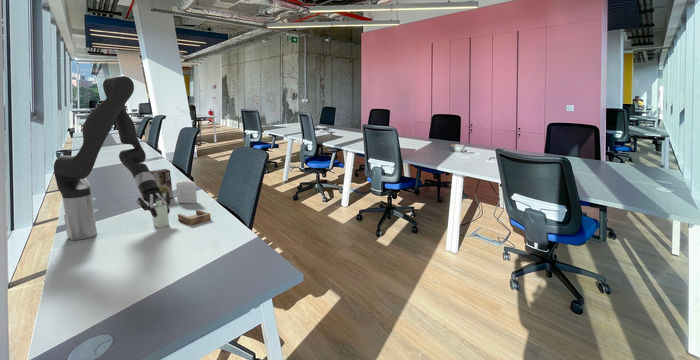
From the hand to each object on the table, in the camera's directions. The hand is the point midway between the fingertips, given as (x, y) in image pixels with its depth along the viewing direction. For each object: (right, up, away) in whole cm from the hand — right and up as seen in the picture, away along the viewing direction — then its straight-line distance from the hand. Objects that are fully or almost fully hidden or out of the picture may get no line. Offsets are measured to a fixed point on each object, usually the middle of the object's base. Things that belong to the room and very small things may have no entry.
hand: (162, 214), depth 159 cm
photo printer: (-6, +3, +38) cm, 39 cm away
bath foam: (-54, +1, +28) cm, 61 cm away
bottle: (-1, -5, +2) cm, 6 cm away
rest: (+11, -3, +9) cm, 14 cm away
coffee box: (-24, +5, +47) cm, 53 cm away
